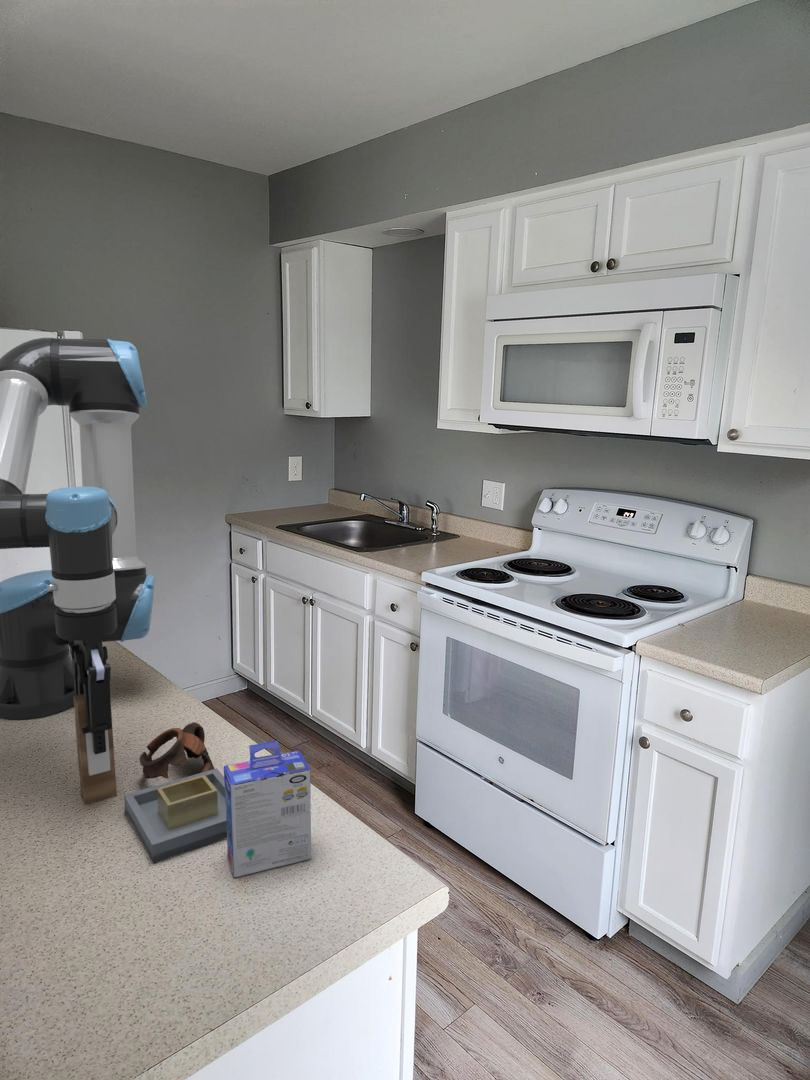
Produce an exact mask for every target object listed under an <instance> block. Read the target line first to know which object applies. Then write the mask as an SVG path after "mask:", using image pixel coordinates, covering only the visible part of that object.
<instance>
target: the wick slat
mask: <svg viewBox="0 0 810 1080" xmlns="http://www.w3.org/2000/svg"><path fill="white" fill-rule="evenodd" d="M73 699H74V705H73V709H74V711H73V713H74V722H75V723H74V724H75V735H76V736H75V737H76V749H77V750H76V751H77V764H78V774H79V775H78V776H79V787H80V788H79V789H80V791H79V792H80V797H81V799H82V801H83V804H84V805H89V804H91V803H92V804H93V803H96V802H99V801H102V800H106V799H109V798H112V797H116V796H118V795H117V794H118V793H117V779H116V777H117V776H116V763H115V762H116V761H115V749H114V747H115V746H114V733H113V732H114V731H113V729H114V728H113V727H112V728H111V729H109V730H108V739H109V754H110V769H111V770H109V771H106V772H102V773H98V774H94V775H91V776H90V775H89V772H88V759H87V745H86V734H83V733H82V729H81V728H86V727H87V718H86V708H85V698H84V694H81V695H76V696H73ZM110 699H111V697H110ZM112 716H113V715H112V712H111V723H112V724H113V720H112V719H113V717H112Z"/></svg>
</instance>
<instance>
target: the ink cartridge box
mask: <svg viewBox="0 0 810 1080" xmlns="http://www.w3.org/2000/svg"><path fill="white" fill-rule="evenodd" d="M248 746H249V747H248V749H249V760H246V761H243V762H237V763H231V764H227V765H226V764H225V765H224V766H223V776H224V781H225V800H226V820H227V838H226V841H227V842H226V843H227V846H226V848H227V849H226V851H227V854H226V855H227V861H228V865H229V868H230V873H231V875H232V877H233V878H239V877H243V876H246V875H251V874H254V873H259V872H263V871H266V870H270V869H274V868H278V867H282V866H286V865H291V864H295V863H299V862H302V861H307V860H310V859H311V858H312V819H311V818H312V813H311V810H312V809H311V806H312V805H311V803H312V802H311V796H312V795H311V794H312V793H311V787H312V786H311V783H312V782H311V767H310V766H309V764H308V762H307V761H306V759H305V757H304V756H303V754H302V752H301V750H295V751H290V752H286V753H282V754H281V751H280V750H281V749H280V745H279V740H275V741H269V742H263V743H256V744H250V745H248ZM264 749H266V750H274V753H273V754H270V755H269V754H268V755H264V756H263V755H262V756H259V757H258V756H255V754H256V753H258V752H260V751H262V750H264Z"/></svg>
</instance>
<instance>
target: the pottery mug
mask: <svg viewBox="0 0 810 1080" xmlns="http://www.w3.org/2000/svg"><path fill="white" fill-rule="evenodd" d="M205 737H206V736H205V730H204V727H203V726H202V725H201V724H200V723H198V722H193V721H192V722H191V723H188V724H187V725H185V726H184V727H183V729H182V728H181V727H172V728H170V729H167V730H165V731H163V732H162V733H159V734H158V735H157V736H156V737H155V738H153V739H152V740H151V741H150V742H149V743H148V744H147V745H146V748H147V751H149V752H148V753H147V752H146V751H143V752H142V753H141V755H140V756H139V764H140V765H141V766H142V775H143V776H144V778H146V779H147V780H150V779H156V778H159V777H162V778H163V779H167V780H168V779H170V778H169V764H170V765H171V766H175V767H177V766H181V767H184V766H187V765H189V764H190V761H189V759H199V758H200V757H201V759H202V762H203V763H202V764H203V766H204V767H203V769H202V770H201V772H200V773H202V772H206V771H209V770H213V769H216V768H215V766H214V764H213V761H212V759H211V758H210V755H209V751H208V749H207V747H206V746H205V745H206V744H205V741H206V739H205ZM174 738H175V739H176V741H175V742H174V744H173V745H172V746H171V747H170V748H169V749H168V750H167V751H166V752H165V753H164V754H162V755H161V756H159V757H157V758H155V759H153V755H154V754H155V753H156V752H157V751H158V750H159V749H160V748H161V747H162V746H163V745H165V744H166V743H168V742H169V741H171V740H173V739H174Z"/></svg>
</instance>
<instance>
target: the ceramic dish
mask: <svg viewBox="0 0 810 1080" xmlns="http://www.w3.org/2000/svg"><path fill="white" fill-rule="evenodd" d="M201 772H202V771H201ZM201 772H199V773H195V774H192V775H189V776H185V777H182V778H179V779H174V780H171V781H168V782H165V783H161V784H158V785H154V786H151V787H147V788H144V789H141V790H140V789H139V790H137V791H133V792H130V793H126V794H124V795H123V801H124V814H125V815H126V816H127V818H128V820H129V822H130V824H131V825H132V827H133V829H134V831H135V833H136V835H137V837H138V838H139V840H140V842H141V844H142V845H143V847H144V849H145V851H146V853H147V854H148V857H149V858H150V860H151V861H152V864H155V863H158V862H161V861H165V860H167V859H170V858H173V857H175V856H179V855H181V854H184V853H187V852H191V851H193V850H196V849H198V848H202V847H205V846H208V845H211V844H213V843H216V842H219V841H223V840H226V839H227V820H226V800H225V781H224V774H223V773H221V771H220V770H219V769H218V768H215V769H213V770H209V771H206V772H202V773H201ZM201 775H205V776H206V777H207V778H208V780H209V781H210V782H211V783H212V785H213V786H214V787H215V788H216V790H217V795H218V815H215V816H212V817H209V818H206V819H203V820H200V821H196V822H193V823H190V824H187V825H184V826H181V827H178V828H175V829H172V830H169V829H168V828H167V826H166V824H165V823H164V821H163V820H162V818H161V816H160V815H159V813H158V805H157V788H160V787H163V786H167V785H170V784H174V783H177V782H181V781H184V780H188V779H191V778H194V777H198V776H201Z"/></svg>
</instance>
